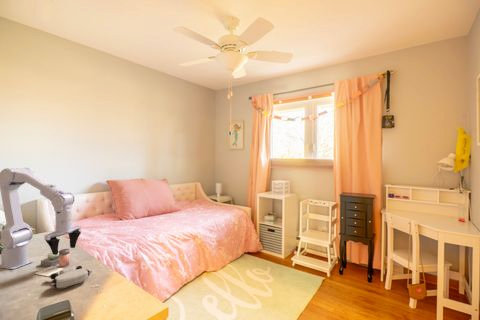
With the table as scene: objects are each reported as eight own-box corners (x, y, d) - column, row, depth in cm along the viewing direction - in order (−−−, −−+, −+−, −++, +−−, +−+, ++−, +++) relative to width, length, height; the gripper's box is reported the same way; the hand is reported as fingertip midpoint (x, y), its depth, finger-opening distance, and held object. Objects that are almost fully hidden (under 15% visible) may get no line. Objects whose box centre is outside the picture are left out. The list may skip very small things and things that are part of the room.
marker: (56, 267, 102) (56, 251, 102) (65, 263, 105) (65, 248, 105) (63, 268, 100) (62, 252, 100) (71, 264, 104) (71, 249, 104)
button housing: (40, 264, 104) (40, 260, 104) (57, 258, 111) (57, 254, 111) (51, 266, 102) (51, 262, 102) (67, 260, 109) (67, 255, 109)
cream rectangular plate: (34, 274, 96) (34, 273, 96) (51, 267, 102) (51, 266, 102) (48, 276, 93) (48, 275, 93) (64, 269, 99) (64, 268, 99)
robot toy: (46, 283, 90) (53, 295, 80) (46, 272, 90) (53, 282, 80) (83, 272, 99) (93, 281, 89) (83, 261, 99) (93, 269, 89)
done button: (44, 261, 105) (44, 255, 105) (56, 257, 110) (56, 251, 110) (52, 262, 103) (52, 256, 103) (64, 258, 108) (64, 252, 108)
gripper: (52, 225, 95) (53, 258, 95) (85, 217, 109) (86, 245, 109) (40, 224, 97) (41, 256, 97) (74, 216, 111) (75, 244, 111)
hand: (64, 250), depth 103 cm, fingers open, 7 cm apart
